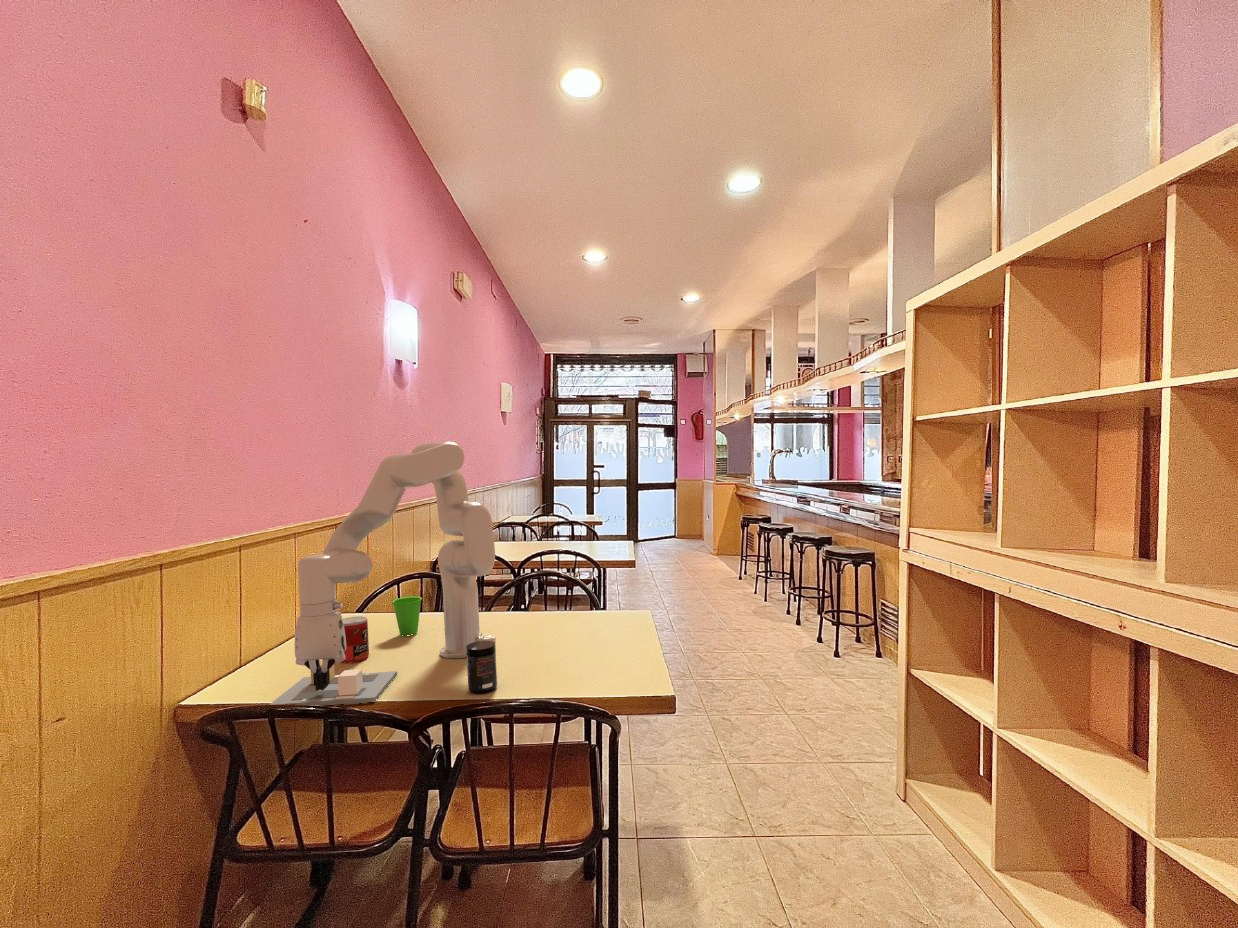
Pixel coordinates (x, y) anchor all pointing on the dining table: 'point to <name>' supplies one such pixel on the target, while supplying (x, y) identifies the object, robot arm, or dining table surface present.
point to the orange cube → (331, 671)
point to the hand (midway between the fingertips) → (322, 687)
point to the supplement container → (481, 667)
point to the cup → (407, 614)
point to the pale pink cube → (350, 682)
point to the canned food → (356, 639)
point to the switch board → (336, 691)
